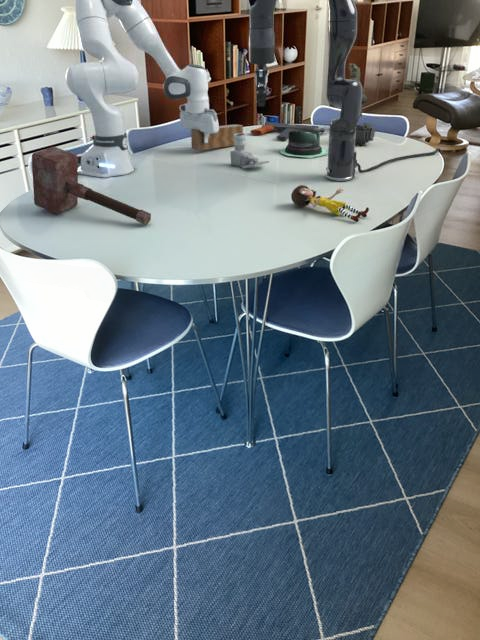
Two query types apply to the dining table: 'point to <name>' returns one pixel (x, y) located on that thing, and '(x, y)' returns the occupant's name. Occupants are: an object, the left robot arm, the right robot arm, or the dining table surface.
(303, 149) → the dark green hat
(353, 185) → the dining table surface
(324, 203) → the figurine
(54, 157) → the sledgehammer
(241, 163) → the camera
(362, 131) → the toy
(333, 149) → the right robot arm
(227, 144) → the bar
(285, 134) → the submachine gun
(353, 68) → the statue
